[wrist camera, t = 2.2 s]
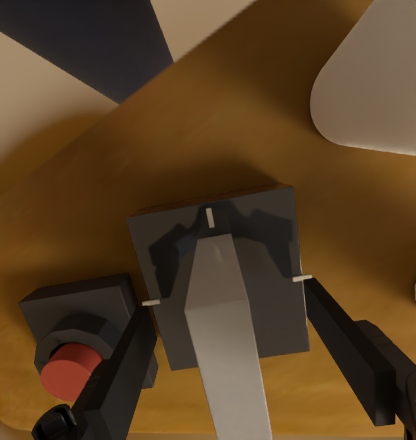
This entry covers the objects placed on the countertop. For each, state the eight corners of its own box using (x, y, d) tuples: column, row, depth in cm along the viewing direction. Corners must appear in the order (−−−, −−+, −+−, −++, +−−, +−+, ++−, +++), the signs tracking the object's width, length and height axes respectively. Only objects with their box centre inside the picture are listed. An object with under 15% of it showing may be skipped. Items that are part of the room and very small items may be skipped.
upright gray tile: (197, 239, 16) (182, 314, 8) (231, 233, 16) (249, 303, 8) (219, 340, 18) (225, 477, 10) (249, 335, 18) (278, 471, 10)
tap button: (37, 288, 21) (-3, 317, 17) (128, 272, 20) (109, 298, 16) (76, 378, 24) (50, 421, 20) (158, 366, 23) (147, 408, 19)
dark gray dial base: (131, 210, 19) (116, 220, 16) (288, 180, 18) (303, 184, 15) (170, 344, 22) (164, 373, 19) (303, 324, 21) (318, 351, 18)
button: (48, 345, 18) (31, 364, 16) (94, 338, 18) (82, 356, 16) (65, 382, 19) (51, 404, 17) (109, 376, 19) (99, 397, 17)
